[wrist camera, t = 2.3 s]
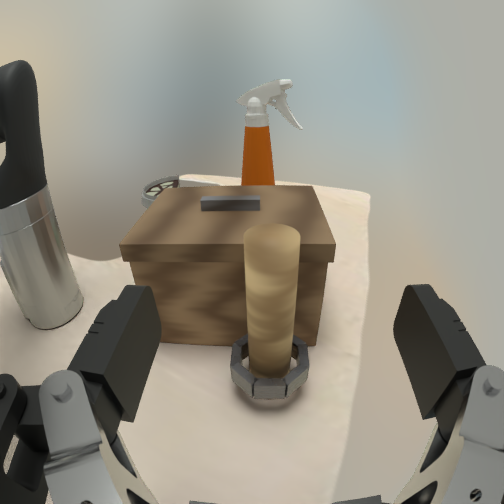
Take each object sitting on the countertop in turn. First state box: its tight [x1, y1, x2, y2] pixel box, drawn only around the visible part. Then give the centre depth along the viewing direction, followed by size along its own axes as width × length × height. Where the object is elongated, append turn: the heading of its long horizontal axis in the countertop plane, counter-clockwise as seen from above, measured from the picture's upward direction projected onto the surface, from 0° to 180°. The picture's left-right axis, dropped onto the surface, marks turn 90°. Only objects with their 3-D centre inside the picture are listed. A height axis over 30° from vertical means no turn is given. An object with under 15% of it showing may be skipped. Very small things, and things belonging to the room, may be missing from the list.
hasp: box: [230, 333, 309, 399], centre depth 25 cm, size 7×8×8 cm
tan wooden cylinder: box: [244, 223, 300, 378], centre depth 24 cm, size 4×4×16 cm
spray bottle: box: [236, 79, 303, 186], centre depth 47 cm, size 7×11×26 cm, turn 63°
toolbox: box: [119, 185, 336, 346], centre depth 35 cm, size 19×15×14 cm
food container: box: [142, 175, 180, 209], centre depth 51 cm, size 12×6×10 cm, turn 9°
